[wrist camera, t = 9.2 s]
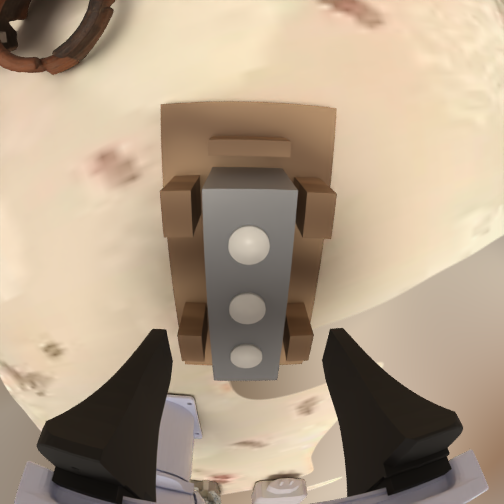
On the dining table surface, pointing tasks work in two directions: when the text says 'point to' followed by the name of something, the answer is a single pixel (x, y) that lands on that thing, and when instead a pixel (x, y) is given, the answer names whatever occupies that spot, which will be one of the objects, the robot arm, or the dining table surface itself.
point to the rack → (245, 155)
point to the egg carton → (207, 491)
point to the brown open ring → (65, 56)
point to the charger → (279, 491)
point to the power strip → (247, 268)
